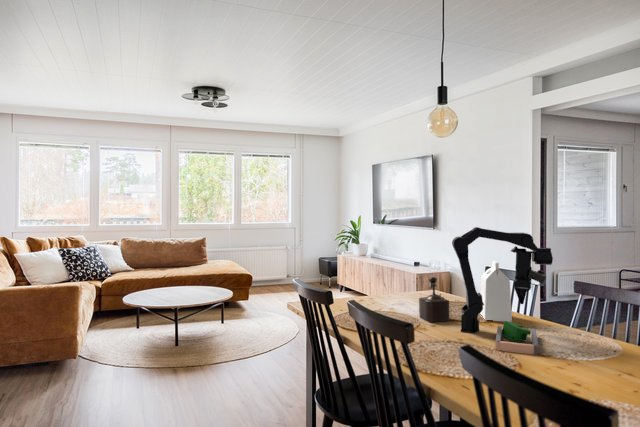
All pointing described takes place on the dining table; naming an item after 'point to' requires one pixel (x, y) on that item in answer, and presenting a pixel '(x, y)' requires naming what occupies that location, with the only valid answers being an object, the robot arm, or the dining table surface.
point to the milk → (496, 295)
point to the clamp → (514, 331)
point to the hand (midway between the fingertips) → (522, 301)
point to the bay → (517, 344)
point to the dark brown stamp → (434, 306)
